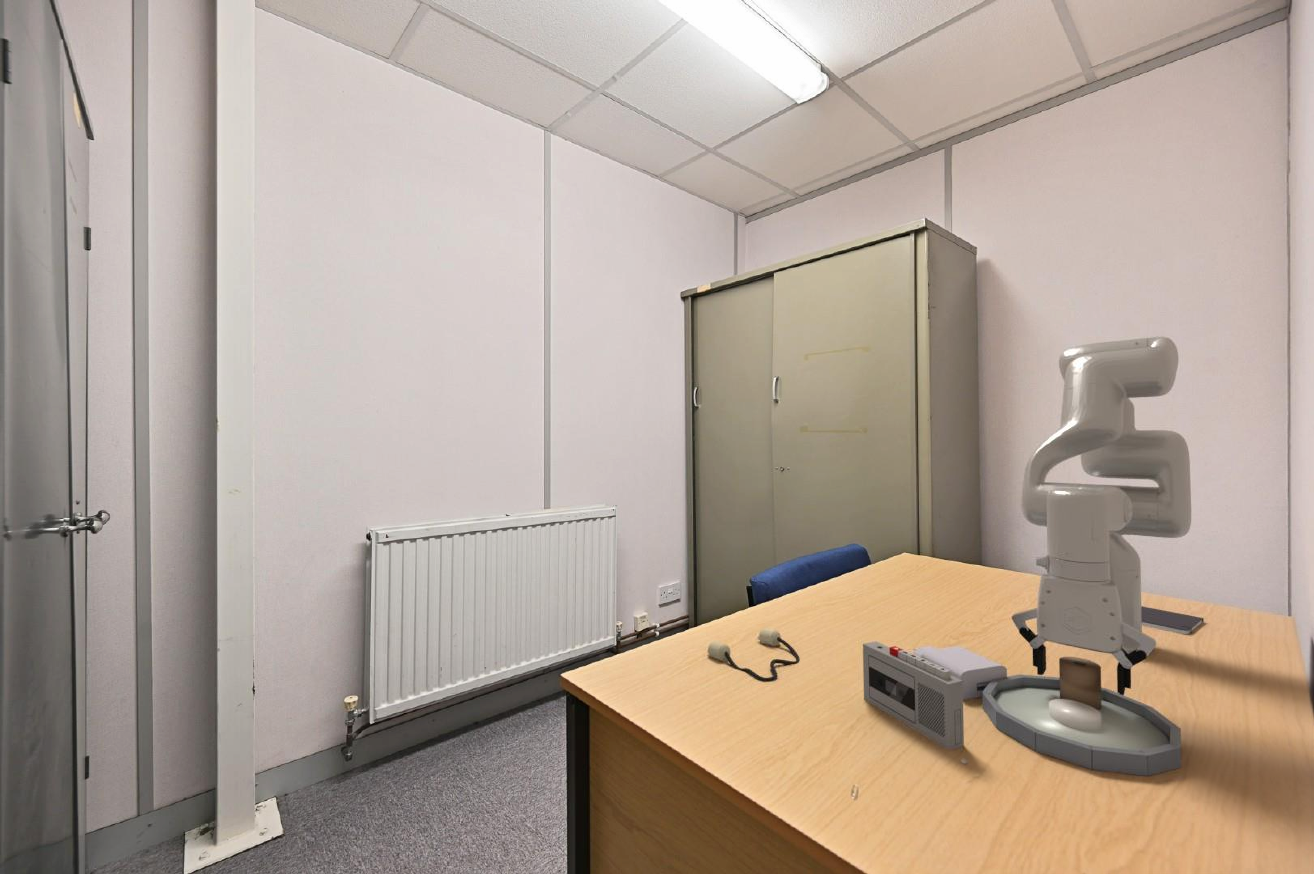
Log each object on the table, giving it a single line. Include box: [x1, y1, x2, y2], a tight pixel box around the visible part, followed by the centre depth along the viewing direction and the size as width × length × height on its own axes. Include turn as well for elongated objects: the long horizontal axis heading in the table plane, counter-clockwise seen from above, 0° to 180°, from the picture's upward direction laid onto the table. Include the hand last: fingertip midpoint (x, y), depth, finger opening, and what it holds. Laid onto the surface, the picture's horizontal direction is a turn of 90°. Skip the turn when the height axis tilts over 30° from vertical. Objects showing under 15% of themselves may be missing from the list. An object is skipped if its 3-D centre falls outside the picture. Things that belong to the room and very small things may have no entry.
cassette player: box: [862, 641, 965, 751], centre depth 80 cm, size 16×3×10 cm, turn 23°
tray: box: [981, 673, 1182, 777], centre depth 78 cm, size 22×22×2 cm
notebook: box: [1141, 605, 1204, 635], centre depth 123 cm, size 13×2×21 cm
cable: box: [706, 627, 801, 683], centre depth 103 cm, size 16×16×4 cm
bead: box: [1058, 656, 1102, 710], centre depth 82 cm, size 5×5×6 cm
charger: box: [912, 645, 1008, 700], centre depth 94 cm, size 5×9×15 cm
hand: (1080, 681), depth 82 cm, fingers open, 9 cm apart
